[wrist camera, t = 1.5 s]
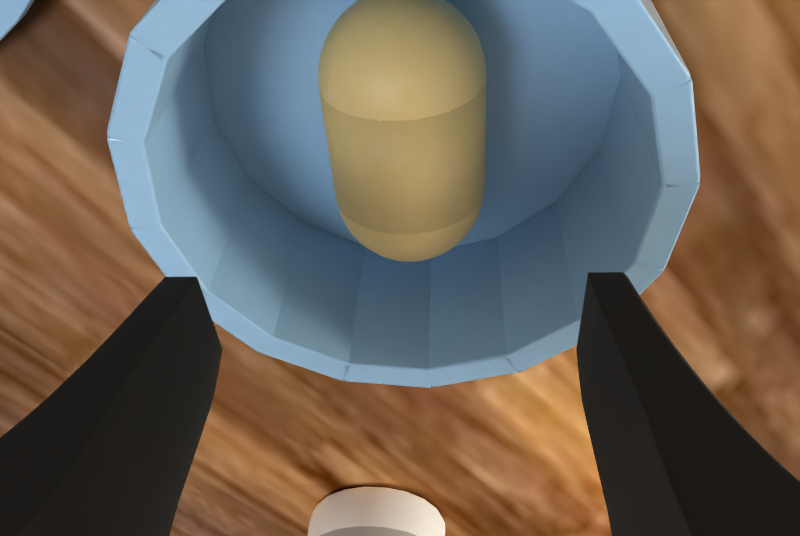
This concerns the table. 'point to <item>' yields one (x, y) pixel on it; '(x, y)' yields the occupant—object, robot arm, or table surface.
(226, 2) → the pot
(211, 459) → the table surface
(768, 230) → the table surface
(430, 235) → the potato
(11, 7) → the lid
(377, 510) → the spray bottle
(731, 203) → the table surface
